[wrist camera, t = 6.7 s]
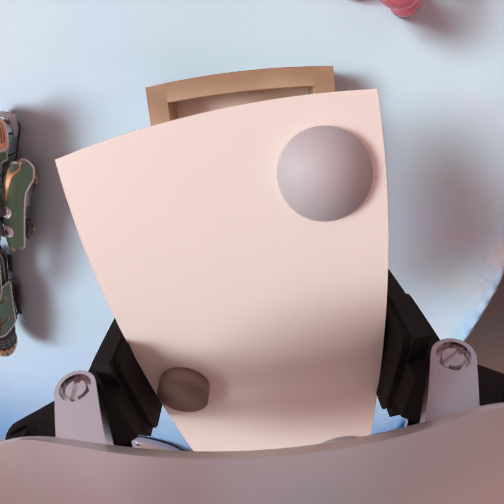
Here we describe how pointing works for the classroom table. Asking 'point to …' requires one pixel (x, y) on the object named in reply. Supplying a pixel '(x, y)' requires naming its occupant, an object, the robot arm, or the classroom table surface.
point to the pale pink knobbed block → (247, 264)
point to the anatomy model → (402, 6)
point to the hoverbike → (12, 228)
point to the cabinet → (234, 90)
